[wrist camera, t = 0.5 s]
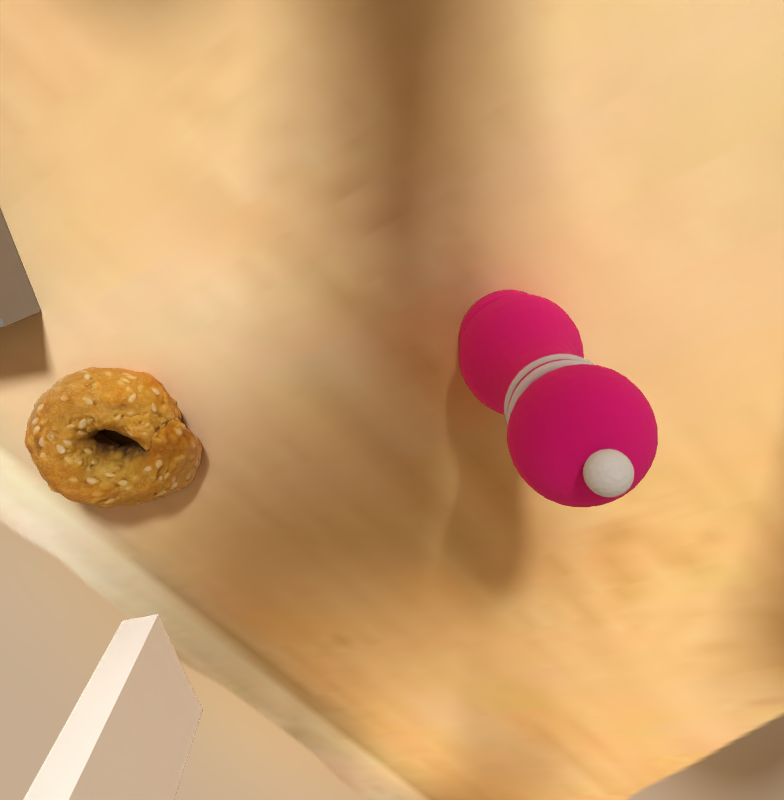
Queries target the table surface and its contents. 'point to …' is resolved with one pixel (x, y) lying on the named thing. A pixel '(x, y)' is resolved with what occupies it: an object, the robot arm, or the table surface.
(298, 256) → the table surface
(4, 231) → the rocker switch panel
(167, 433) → the bagel
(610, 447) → the pepper mill
